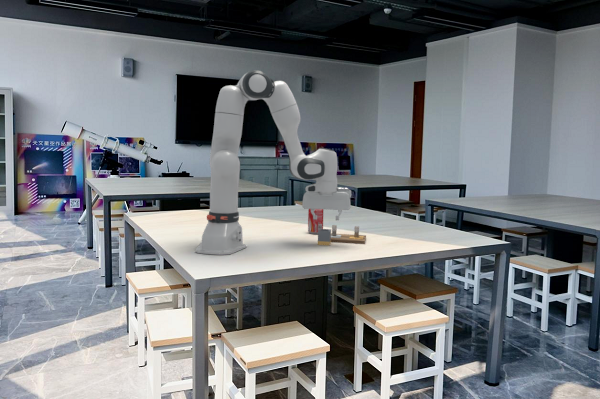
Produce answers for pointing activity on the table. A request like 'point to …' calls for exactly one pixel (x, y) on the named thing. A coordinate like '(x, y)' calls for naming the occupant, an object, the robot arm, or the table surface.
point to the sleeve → (324, 236)
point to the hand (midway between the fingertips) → (326, 219)
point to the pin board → (347, 236)
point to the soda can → (315, 221)
